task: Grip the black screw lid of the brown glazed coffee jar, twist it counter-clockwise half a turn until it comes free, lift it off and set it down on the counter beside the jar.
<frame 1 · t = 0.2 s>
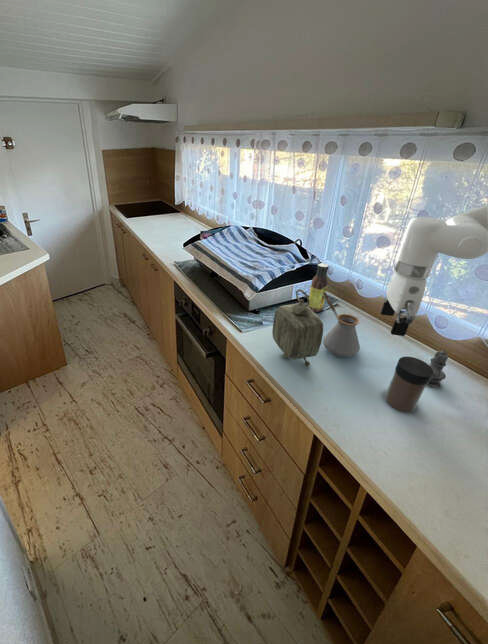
hand: (391, 324, 84), 20 cm above the worktop, tool pointing down, fingers open, 9 cm apart
coffee pot: (331, 341, 110), on the worktop
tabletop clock: (290, 356, 103), on the worktop
sauce bottle: (314, 308, 129), on the worktop
grey piece: (428, 381, 92), on the worktop
jar lid: (414, 367, 80), point 13 cm above the worktop, screwed on, not yet turned
jar: (399, 401, 86), on the worktop
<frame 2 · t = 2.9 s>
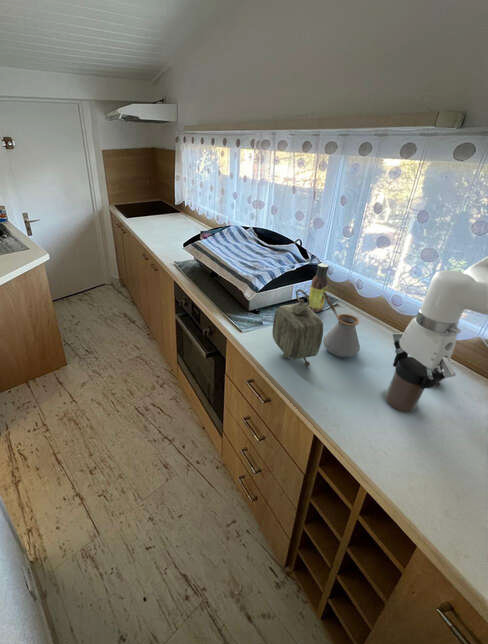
hand: (411, 375, 81), 10 cm above the worktop, tool pointing down, fingers closed on jar lid, 7 cm apart
jar lid: (414, 367, 80), point 13 cm above the worktop, screwed on, not yet turned, touching gripper
everything else where it was.
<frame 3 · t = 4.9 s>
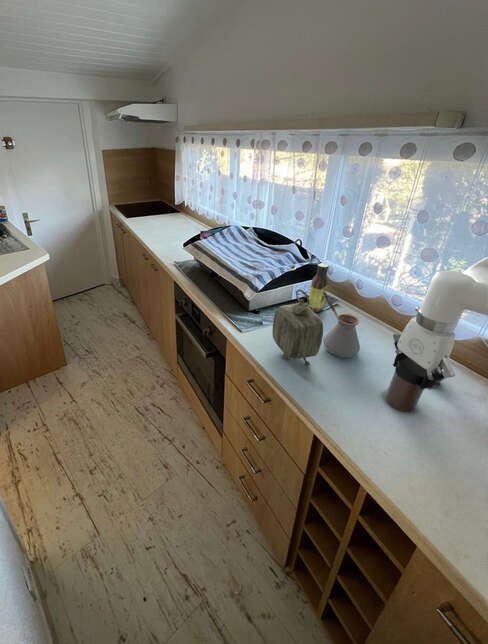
hand: (411, 375, 81), 10 cm above the worktop, tool pointing down, fingers closed on jar lid, 7 cm apart
jar lid: (414, 367, 80), point 13 cm above the worktop, off its thread, touching gripper
everything else where it was.
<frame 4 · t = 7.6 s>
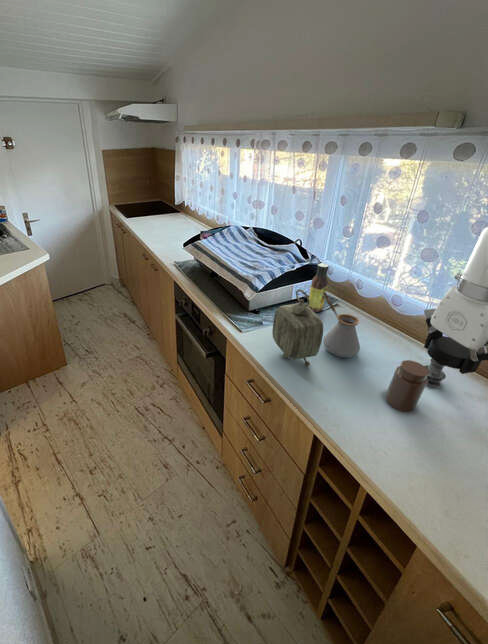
hand: (447, 358, 68), 23 cm above the worktop, tool pointing down, fingers closed on jar lid, 7 cm apart
jar lid: (452, 348, 66), point 26 cm above the worktop, off its thread, touching gripper
everything else where it was.
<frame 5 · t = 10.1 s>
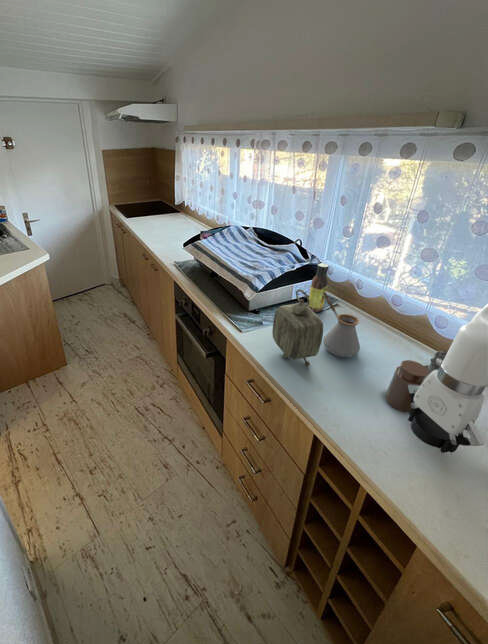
hand: (429, 434, 71), 5 cm above the worktop, tool pointing down, fingers closed on jar lid, 7 cm apart
jar lid: (433, 426, 70), point 8 cm above the worktop, off its thread, touching gripper
everything else where it was.
when the fingers open (0 cm above the worktop, at t = 12.4 s): jar lid stays where it is, point 2 cm above the worktop.
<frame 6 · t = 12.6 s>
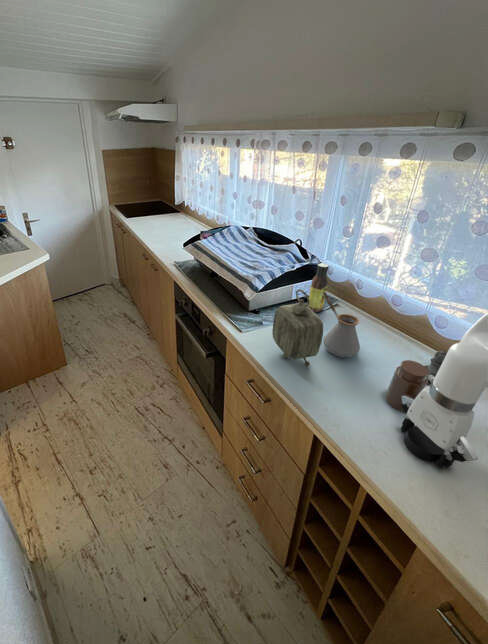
hand: (423, 446, 73), 0 cm above the worktop, tool pointing down, fingers open, 9 cm apart
jar lid: (425, 440, 72), point 2 cm above the worktop, off its thread
everything else where it was.
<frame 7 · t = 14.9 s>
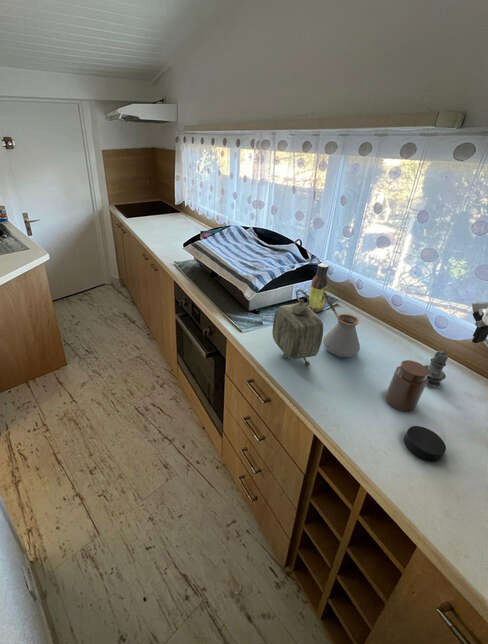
nothing on the worktop moved.
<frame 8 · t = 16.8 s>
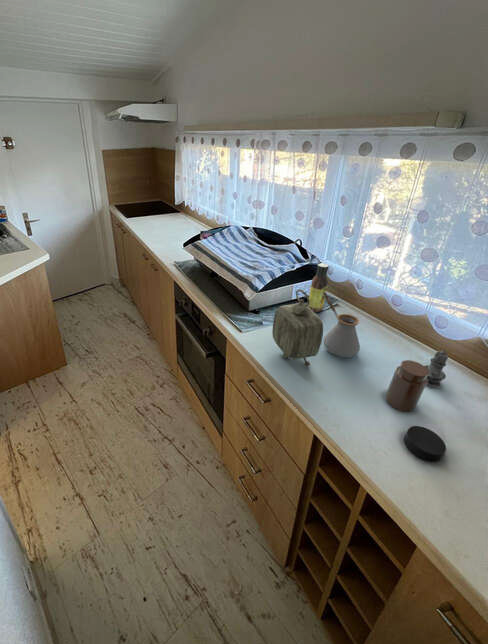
nothing on the worktop moved.
at the end: jar lid inside the target area (0.2 cm from its centre), point 2.4 cm above the worktop; the gripper is holding nothing; jar moved 0.0 cm from its start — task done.
